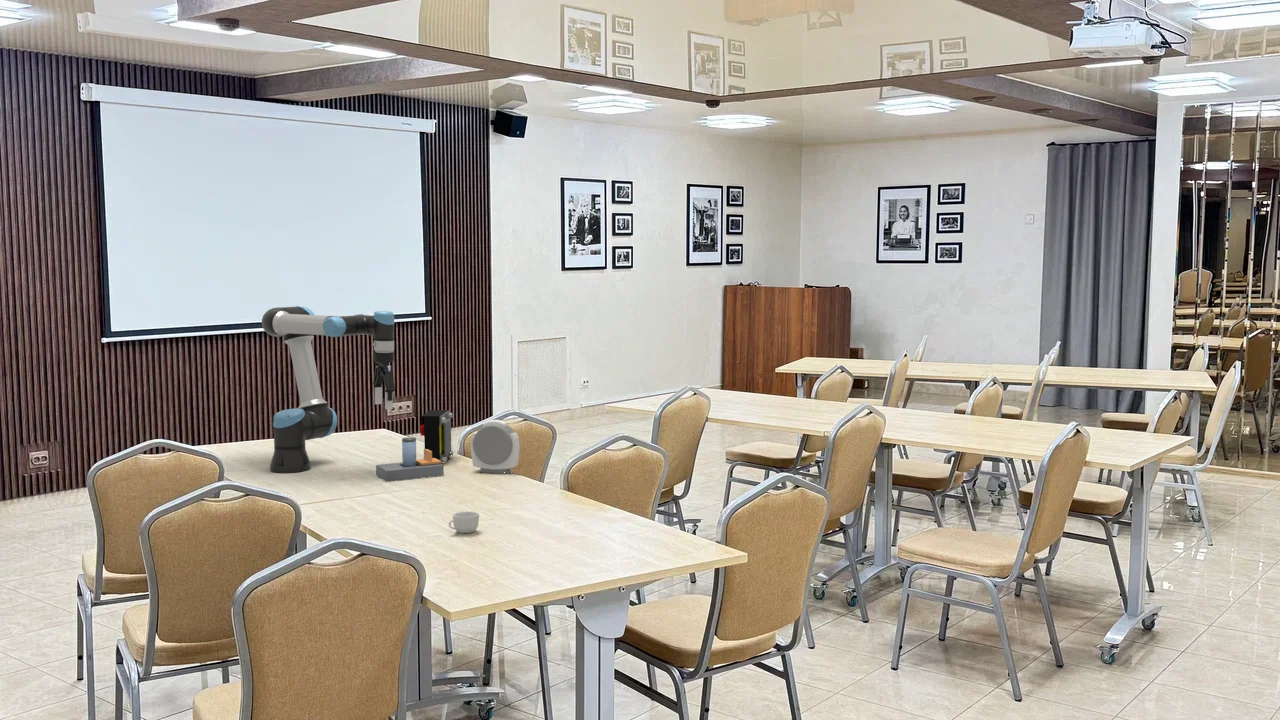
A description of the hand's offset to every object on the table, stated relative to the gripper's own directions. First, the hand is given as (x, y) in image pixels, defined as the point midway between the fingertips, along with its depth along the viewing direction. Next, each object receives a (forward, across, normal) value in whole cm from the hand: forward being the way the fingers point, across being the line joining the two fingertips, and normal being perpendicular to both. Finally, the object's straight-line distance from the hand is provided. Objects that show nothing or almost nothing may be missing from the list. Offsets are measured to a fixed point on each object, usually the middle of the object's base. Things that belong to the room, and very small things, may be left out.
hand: (383, 406), depth 402 cm
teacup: (+23, +102, -6) cm, 104 cm away
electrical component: (+26, -13, +26) cm, 40 cm away
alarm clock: (+25, +20, +38) cm, 50 cm away
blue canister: (+24, +10, +7) cm, 27 cm away
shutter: (+21, +10, +15) cm, 27 cm away
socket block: (+26, +10, +7) cm, 28 cm away
